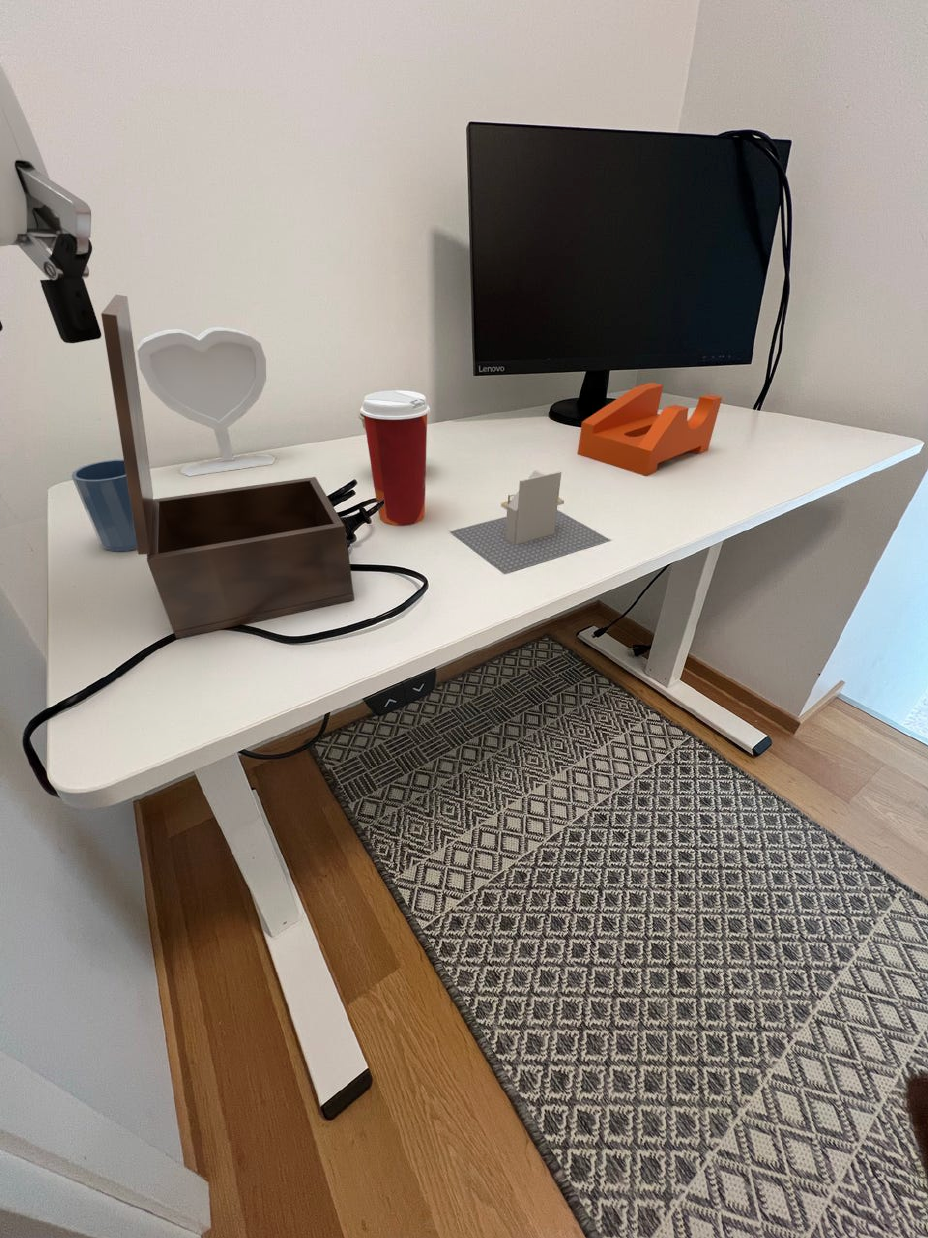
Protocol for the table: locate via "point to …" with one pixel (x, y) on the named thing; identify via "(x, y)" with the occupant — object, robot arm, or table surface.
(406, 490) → the paper cup
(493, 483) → the table surface
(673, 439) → the orange notched block
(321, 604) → the box
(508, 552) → the architectural model
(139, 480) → the box lid
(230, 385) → the heart sculpture
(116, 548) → the cup
